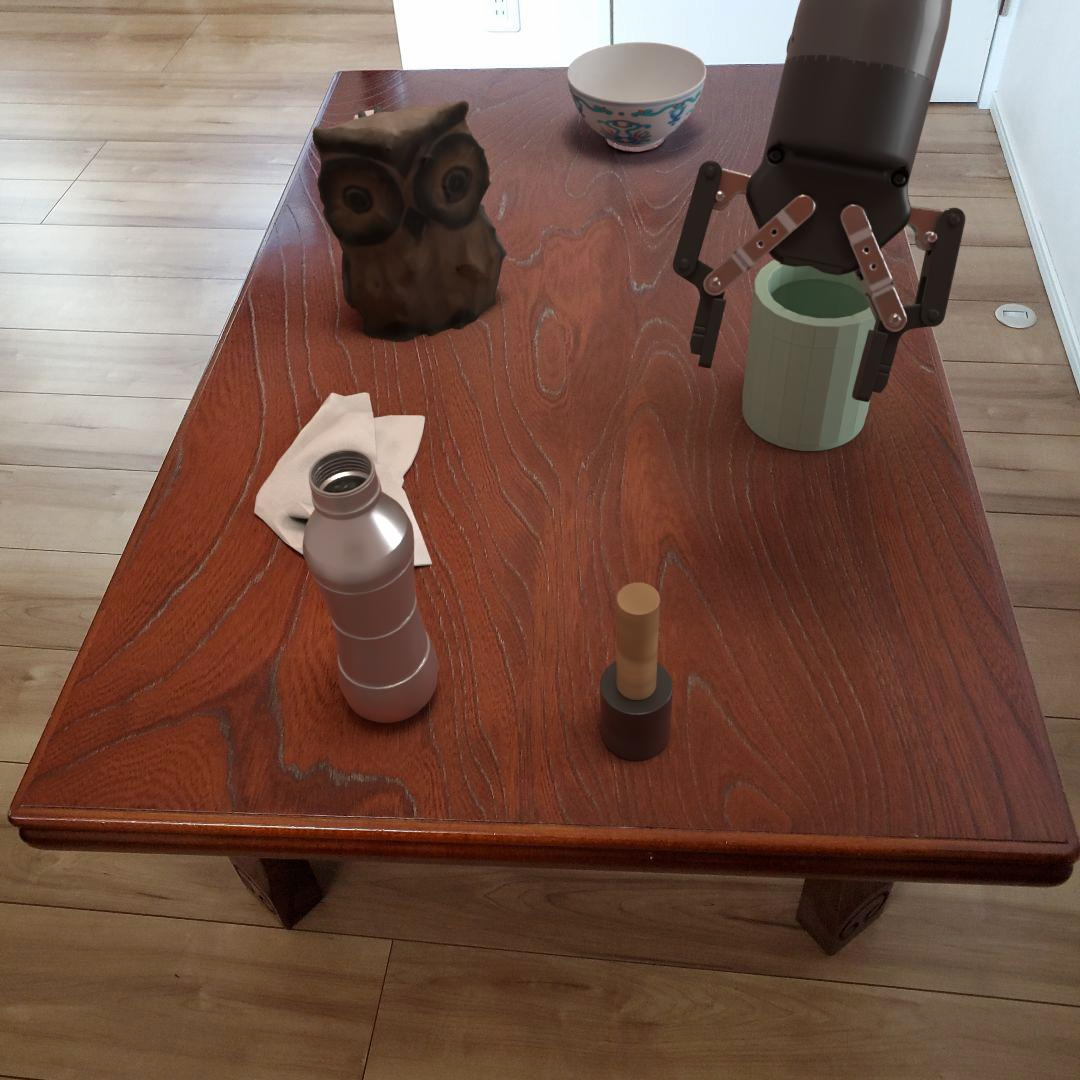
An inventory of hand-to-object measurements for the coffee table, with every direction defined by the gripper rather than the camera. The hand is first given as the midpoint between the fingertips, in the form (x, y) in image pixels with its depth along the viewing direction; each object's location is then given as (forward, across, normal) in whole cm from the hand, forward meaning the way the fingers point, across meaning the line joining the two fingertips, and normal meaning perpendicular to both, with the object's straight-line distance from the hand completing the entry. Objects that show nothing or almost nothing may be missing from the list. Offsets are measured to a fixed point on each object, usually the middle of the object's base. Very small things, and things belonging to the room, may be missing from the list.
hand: (782, 383), depth 61 cm
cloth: (+17, -29, +21) cm, 40 cm away
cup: (+4, +5, +32) cm, 33 cm away
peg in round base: (+24, -3, +5) cm, 24 cm away
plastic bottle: (+26, -19, +6) cm, 33 cm away
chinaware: (-20, -17, +70) cm, 75 cm away
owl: (+2, -30, +44) cm, 53 cm away
